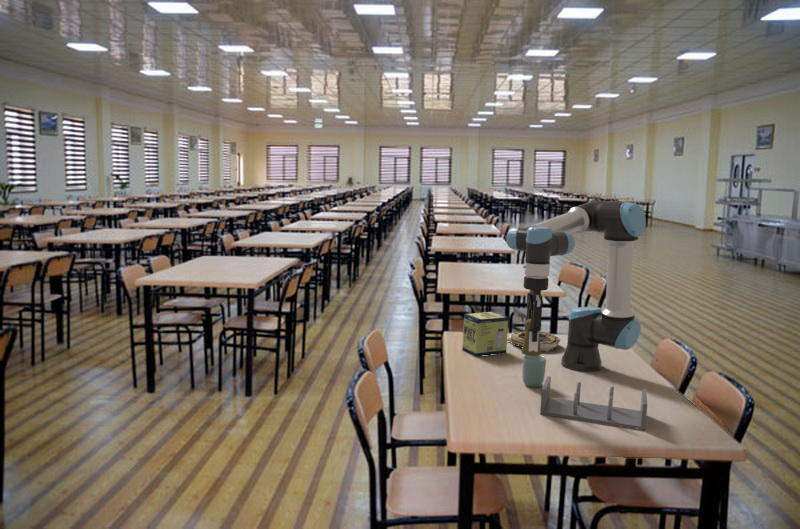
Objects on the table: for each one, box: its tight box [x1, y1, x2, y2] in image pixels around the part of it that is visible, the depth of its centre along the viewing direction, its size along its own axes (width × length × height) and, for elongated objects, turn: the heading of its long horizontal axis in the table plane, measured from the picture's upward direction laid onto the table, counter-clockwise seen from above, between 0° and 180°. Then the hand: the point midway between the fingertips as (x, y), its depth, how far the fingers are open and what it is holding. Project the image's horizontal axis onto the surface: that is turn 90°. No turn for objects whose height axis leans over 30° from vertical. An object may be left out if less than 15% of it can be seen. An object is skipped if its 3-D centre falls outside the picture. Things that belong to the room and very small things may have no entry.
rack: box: [539, 375, 648, 430], centre depth 201 cm, size 30×14×8 cm, turn 71°
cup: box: [521, 355, 547, 388], centre depth 226 cm, size 8×8×10 cm
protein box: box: [461, 311, 509, 357], centre depth 266 cm, size 10×16×16 cm
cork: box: [521, 319, 542, 356], centre depth 205 cm, size 6×6×11 cm
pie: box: [507, 330, 562, 352], centre depth 279 cm, size 28×27×5 cm
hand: (531, 348), depth 205 cm, fingers closed on cork, 4 cm apart
